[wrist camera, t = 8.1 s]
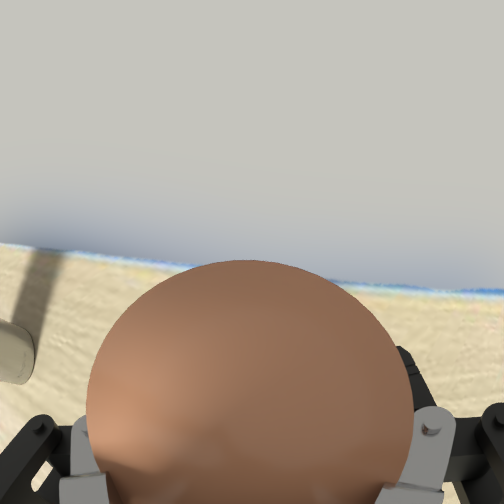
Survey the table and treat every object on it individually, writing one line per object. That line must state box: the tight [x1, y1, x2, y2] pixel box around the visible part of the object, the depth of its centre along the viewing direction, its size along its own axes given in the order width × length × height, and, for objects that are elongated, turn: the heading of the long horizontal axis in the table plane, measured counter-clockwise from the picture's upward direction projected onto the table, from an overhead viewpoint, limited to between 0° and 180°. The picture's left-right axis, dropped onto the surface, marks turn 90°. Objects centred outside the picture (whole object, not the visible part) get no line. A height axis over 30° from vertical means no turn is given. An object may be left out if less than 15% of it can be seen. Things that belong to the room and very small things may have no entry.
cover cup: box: [86, 260, 414, 504], centre depth 9 cm, size 7×7×10 cm
